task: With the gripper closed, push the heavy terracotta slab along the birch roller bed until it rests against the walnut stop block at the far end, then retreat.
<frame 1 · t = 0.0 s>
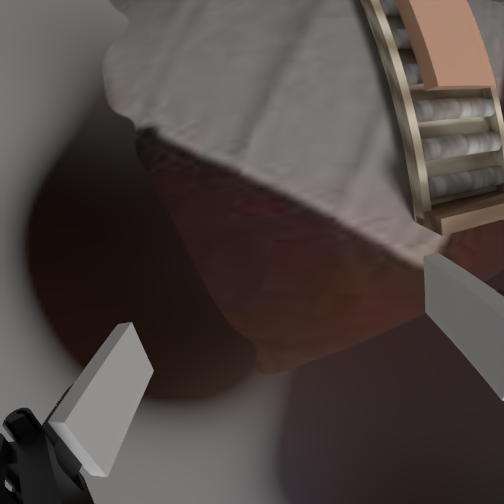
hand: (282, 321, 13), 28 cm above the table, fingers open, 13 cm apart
roller bed: (442, 92, 35), on the table
slab: (440, 40, 29), point 3 cm above the table, touching roller bed
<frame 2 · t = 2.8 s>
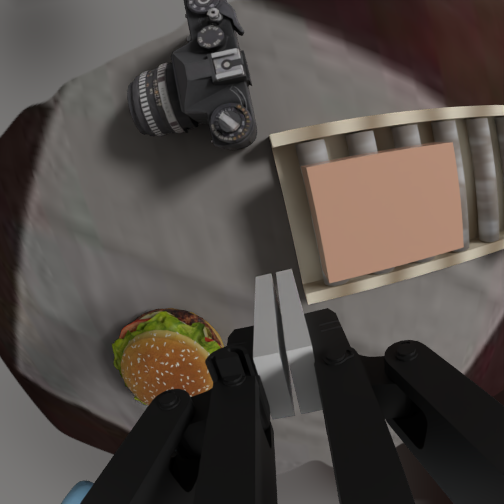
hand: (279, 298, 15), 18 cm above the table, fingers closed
roller bed: (426, 187, 32), on the table
camera: (199, 89, 30), on the table
food: (180, 350, 38), on the table
slab: (382, 204, 29), point 3 cm above the table, touching roller bed
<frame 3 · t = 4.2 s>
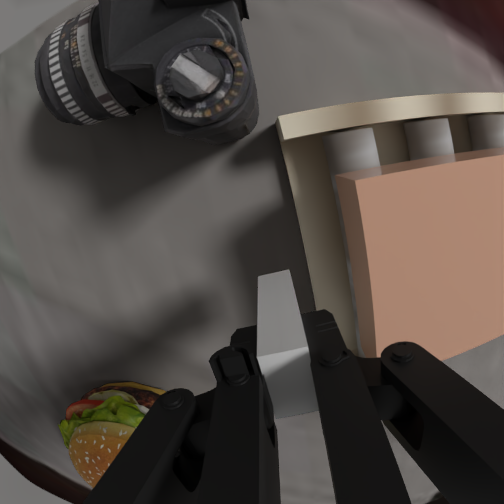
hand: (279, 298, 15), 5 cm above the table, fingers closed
roller bed: (503, 209, 19), on the table
camera: (164, 49, 17), on the table
food: (152, 428, 25), on the table
slab: (459, 240, 16), point 3 cm above the table, touching roller bed
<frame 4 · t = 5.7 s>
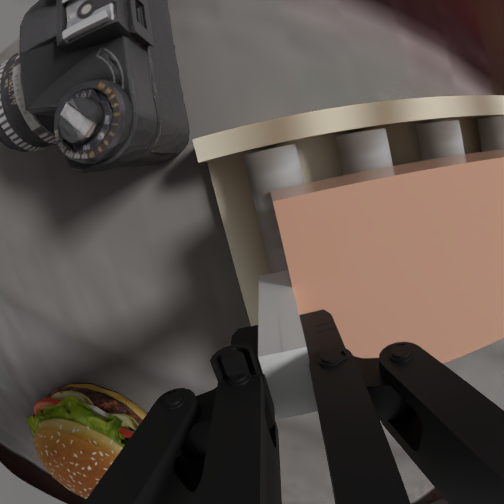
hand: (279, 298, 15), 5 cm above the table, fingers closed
roller bed: (464, 223, 19), on the table
camera: (107, 72, 17), on the table
food: (113, 428, 26), on the table
slab: (415, 255, 16), point 3 cm above the table, touching gripper, roller bed
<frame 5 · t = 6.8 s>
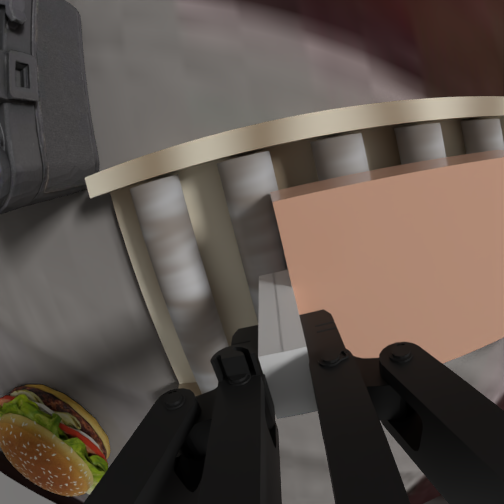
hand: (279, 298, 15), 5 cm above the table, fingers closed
roller bed: (385, 243, 20), on the table
camera: (37, 108, 18), on the table
food: (67, 426, 26), on the table
slab: (414, 256, 16), point 3 cm above the table, touching gripper
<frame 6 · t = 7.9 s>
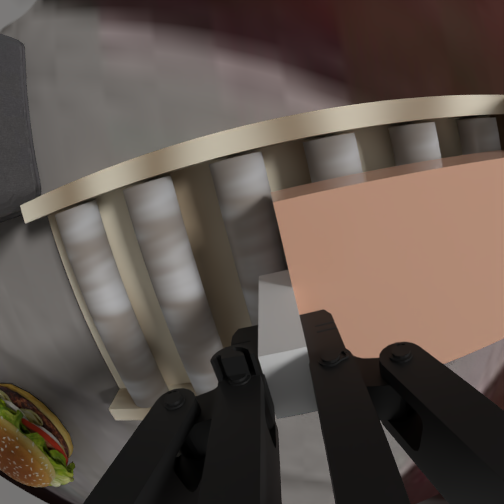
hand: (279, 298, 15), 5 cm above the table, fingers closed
roller bed: (305, 260, 20), on the table
food: (36, 422, 27), on the table
slab: (415, 256, 16), point 3 cm above the table, touching gripper
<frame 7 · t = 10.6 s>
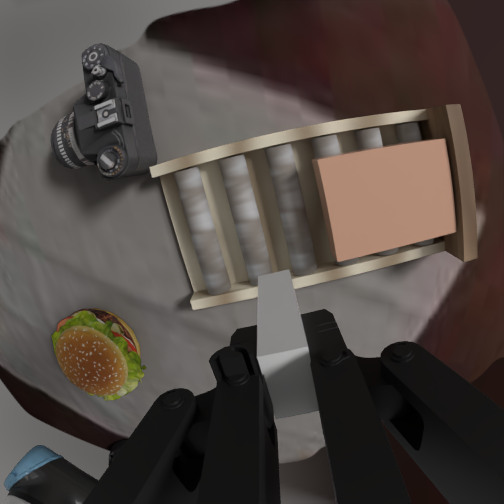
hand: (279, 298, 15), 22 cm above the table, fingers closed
roller bed: (312, 202, 36), on the table
camera: (113, 124, 34), on the table
food: (107, 344, 43), on the table
slab: (383, 193, 32), point 3 cm above the table, touching roller bed
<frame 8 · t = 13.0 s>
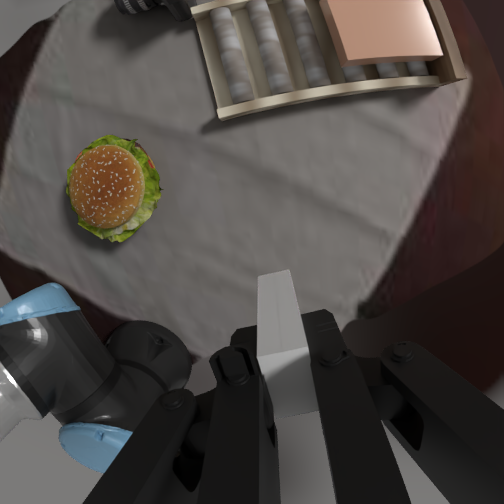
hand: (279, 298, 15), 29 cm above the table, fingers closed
roller bed: (321, 41, 37), on the table
food: (123, 185, 44), on the table
slab: (378, 29, 33), point 3 cm above the table, touching roller bed
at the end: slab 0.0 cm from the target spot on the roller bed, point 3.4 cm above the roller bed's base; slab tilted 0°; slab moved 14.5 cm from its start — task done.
